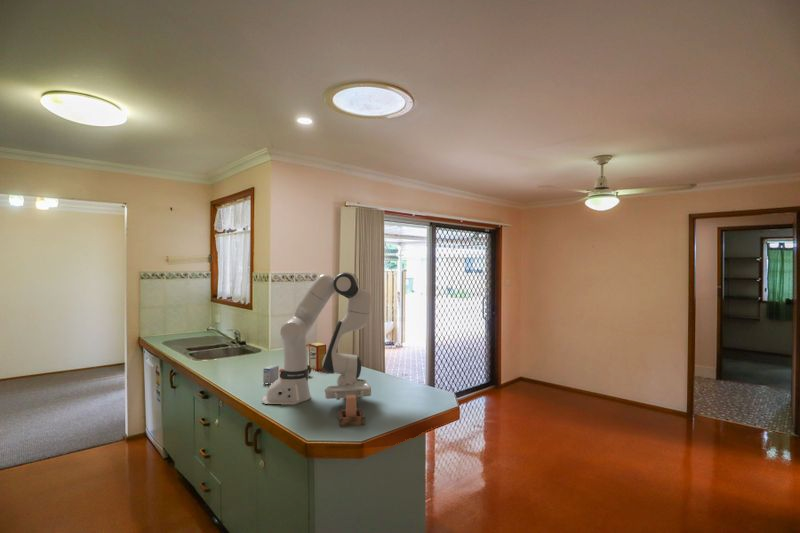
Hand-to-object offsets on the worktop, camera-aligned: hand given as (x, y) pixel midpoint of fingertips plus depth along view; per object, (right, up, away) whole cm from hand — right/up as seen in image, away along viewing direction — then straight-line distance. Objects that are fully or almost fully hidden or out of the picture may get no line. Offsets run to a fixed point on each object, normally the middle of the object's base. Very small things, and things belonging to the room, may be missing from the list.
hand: (349, 397), depth 165 cm
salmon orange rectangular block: (+2, -7, -7) cm, 10 cm away
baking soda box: (-30, -9, +77) cm, 83 cm away
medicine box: (-50, -8, +48) cm, 69 cm away
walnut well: (+2, -7, -7) cm, 10 cm away
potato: (-37, -9, +61) cm, 71 cm away
